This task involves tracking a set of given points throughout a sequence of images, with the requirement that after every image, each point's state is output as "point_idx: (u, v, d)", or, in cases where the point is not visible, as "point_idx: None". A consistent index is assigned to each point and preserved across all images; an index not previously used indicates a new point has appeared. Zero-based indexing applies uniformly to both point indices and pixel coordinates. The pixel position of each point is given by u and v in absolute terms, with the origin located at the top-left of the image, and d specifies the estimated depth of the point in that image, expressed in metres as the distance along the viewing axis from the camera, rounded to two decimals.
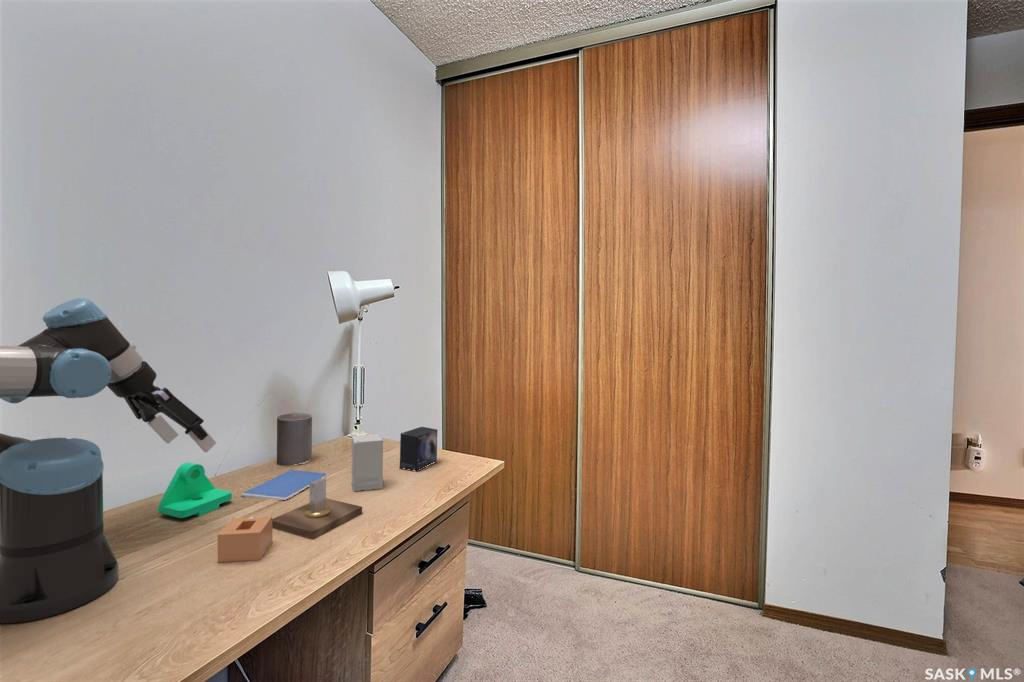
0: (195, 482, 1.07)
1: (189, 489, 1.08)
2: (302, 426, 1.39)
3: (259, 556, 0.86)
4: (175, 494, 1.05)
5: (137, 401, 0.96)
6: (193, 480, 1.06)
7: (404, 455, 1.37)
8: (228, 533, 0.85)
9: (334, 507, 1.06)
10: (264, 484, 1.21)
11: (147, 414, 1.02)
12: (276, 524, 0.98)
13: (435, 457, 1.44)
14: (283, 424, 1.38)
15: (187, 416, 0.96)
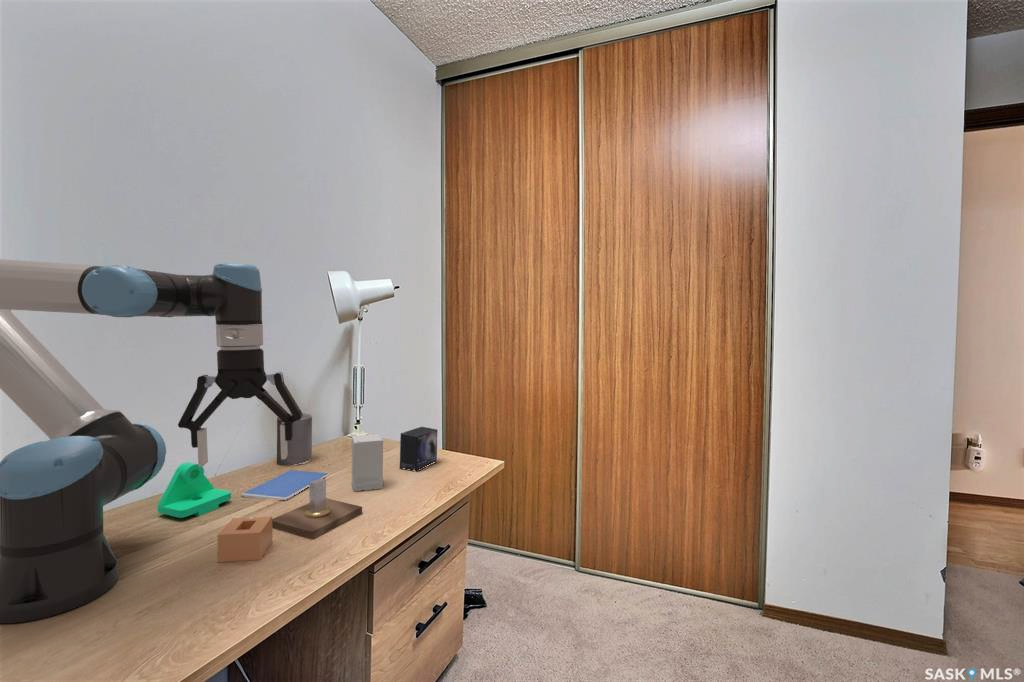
0: (194, 482, 1.07)
1: (189, 489, 1.08)
2: (302, 426, 1.39)
3: (259, 556, 0.86)
4: (174, 494, 1.05)
5: None
6: (192, 480, 1.07)
7: (404, 455, 1.37)
8: (228, 533, 0.85)
9: (334, 507, 1.06)
10: (264, 484, 1.21)
11: None
12: (276, 524, 0.98)
13: (435, 457, 1.44)
14: None
15: None
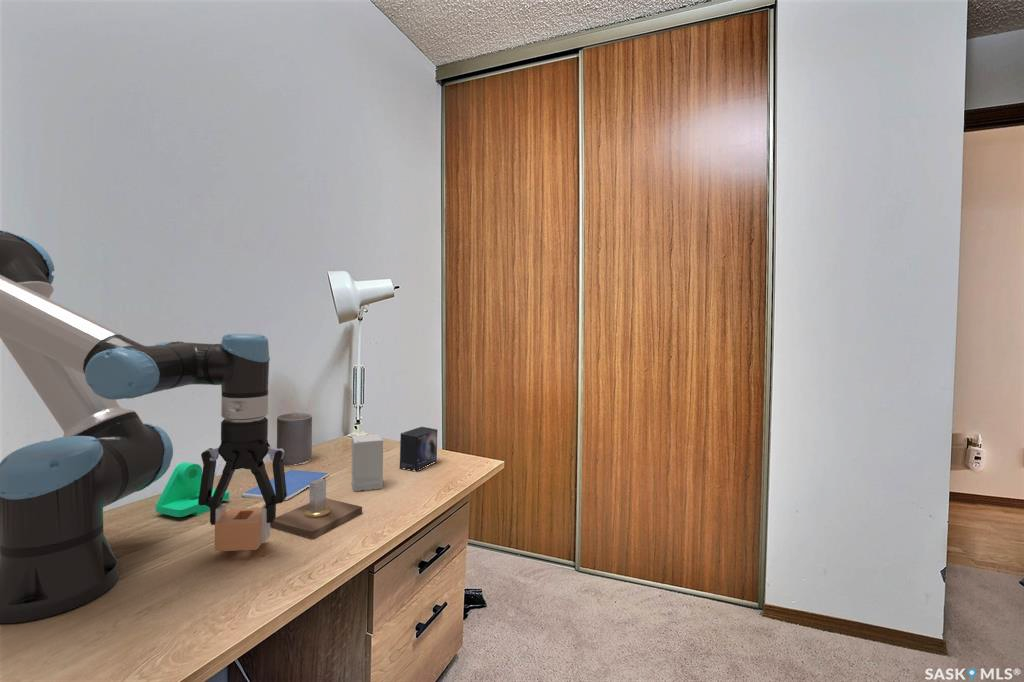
0: (192, 481, 1.07)
1: (187, 489, 1.08)
2: (302, 426, 1.39)
3: (256, 546, 0.86)
4: (173, 494, 1.05)
5: None
6: (190, 479, 1.07)
7: (404, 455, 1.37)
8: (225, 522, 0.85)
9: (334, 507, 1.06)
10: None
11: None
12: (276, 524, 0.98)
13: (435, 457, 1.44)
14: (283, 424, 1.38)
15: None
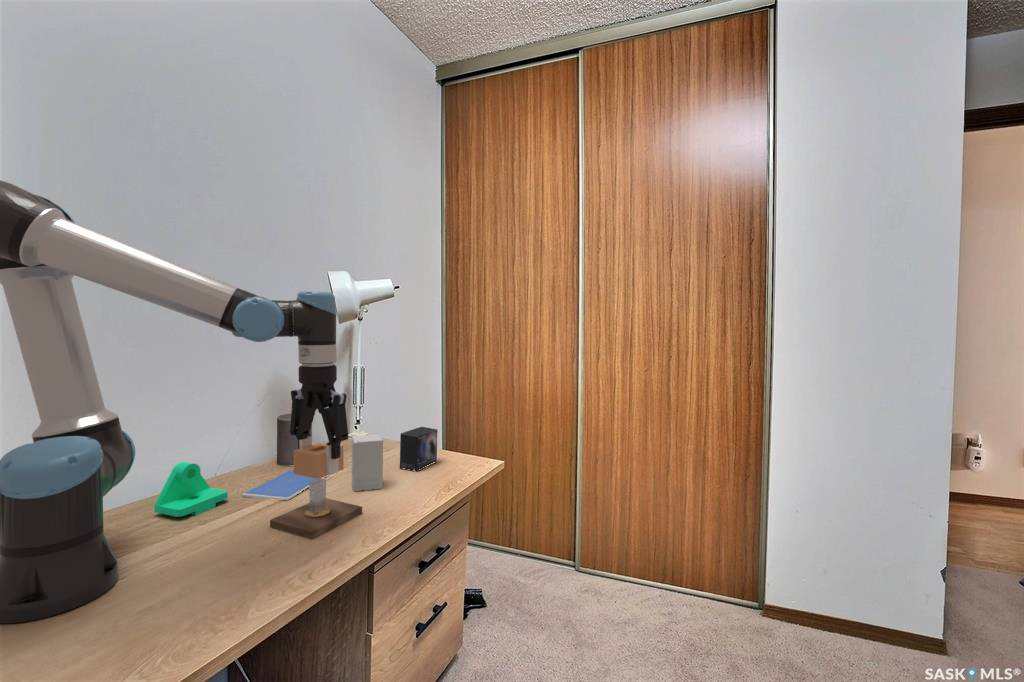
0: (191, 481, 1.07)
1: (185, 489, 1.08)
2: None
3: (318, 476, 0.98)
4: (171, 494, 1.05)
5: None
6: (189, 479, 1.07)
7: (404, 455, 1.37)
8: (300, 451, 1.00)
9: (334, 507, 1.06)
10: (265, 484, 1.21)
11: None
12: (276, 524, 0.98)
13: (435, 457, 1.44)
14: (283, 424, 1.38)
15: None
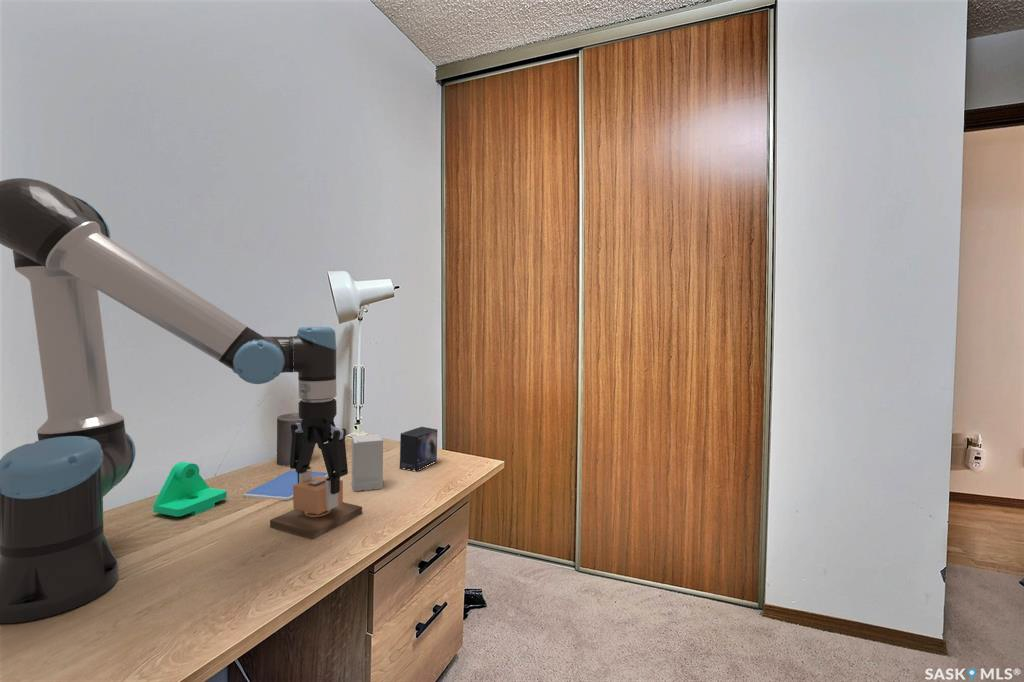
0: (190, 481, 1.08)
1: (184, 488, 1.08)
2: None
3: (317, 511, 0.98)
4: (170, 493, 1.05)
5: None
6: (188, 479, 1.07)
7: (404, 455, 1.37)
8: (300, 486, 1.00)
9: None
10: (265, 484, 1.21)
11: None
12: (276, 524, 0.98)
13: (435, 457, 1.44)
14: (283, 424, 1.38)
15: None
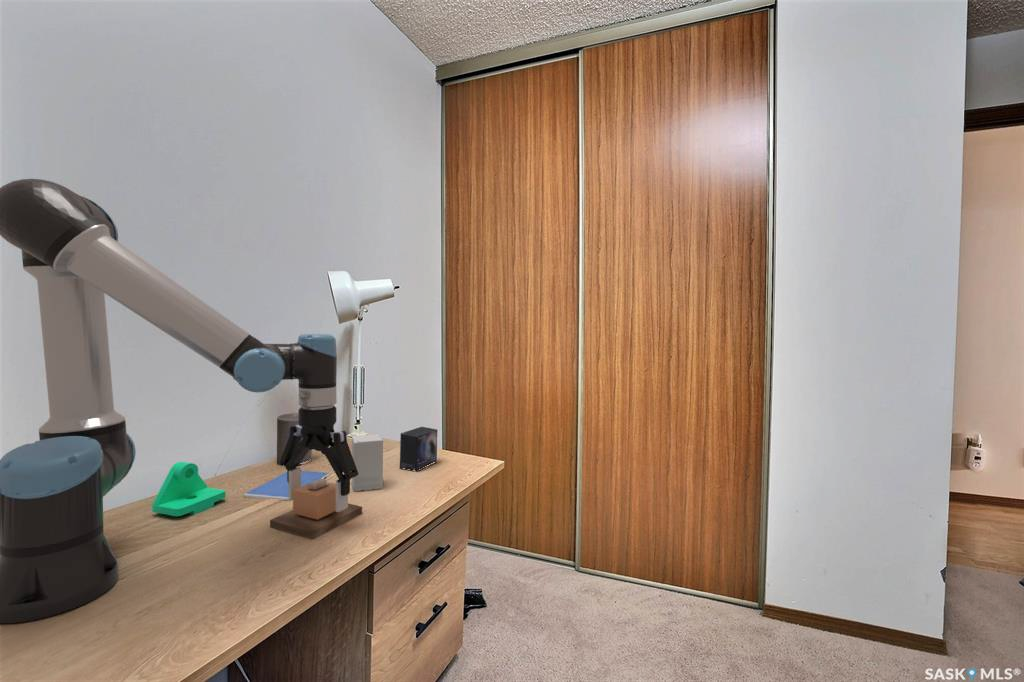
0: (189, 481, 1.08)
1: (183, 488, 1.08)
2: None
3: (317, 516, 0.98)
4: (169, 493, 1.05)
5: None
6: (187, 479, 1.07)
7: (404, 455, 1.37)
8: (300, 490, 1.00)
9: None
10: (265, 484, 1.21)
11: None
12: (276, 524, 0.98)
13: (435, 457, 1.44)
14: (283, 424, 1.38)
15: None
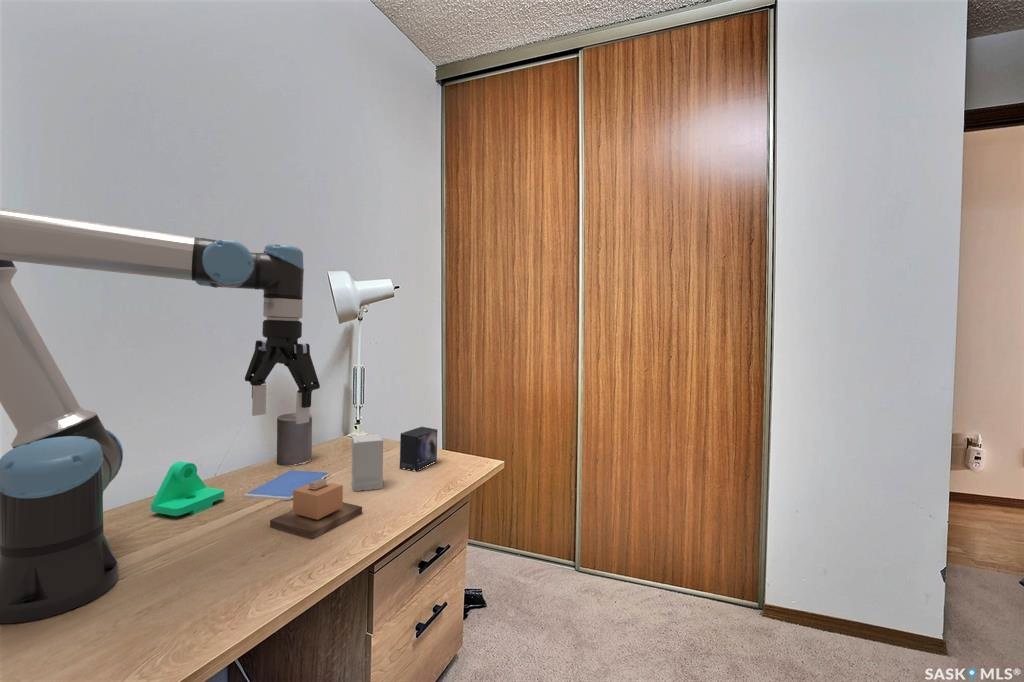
0: (188, 481, 1.08)
1: (182, 488, 1.08)
2: (302, 426, 1.39)
3: (317, 516, 0.98)
4: (168, 493, 1.05)
5: None
6: (185, 479, 1.07)
7: (404, 455, 1.37)
8: (300, 490, 1.00)
9: None
10: (266, 484, 1.21)
11: None
12: (276, 524, 0.98)
13: (435, 457, 1.44)
14: (283, 424, 1.38)
15: None
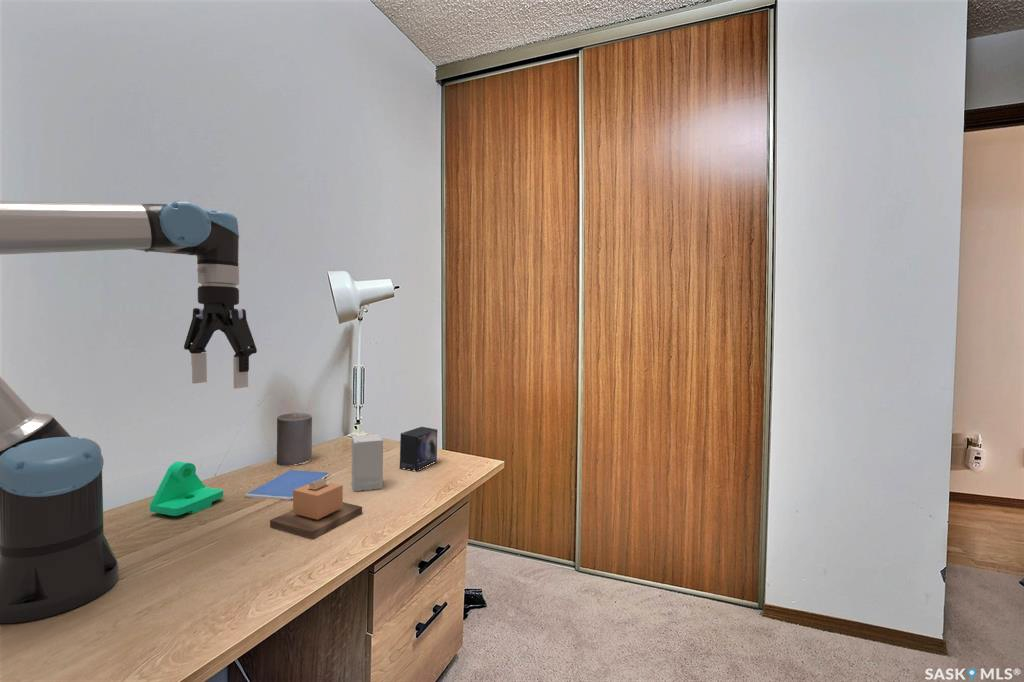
0: (187, 480, 1.08)
1: (181, 488, 1.08)
2: (302, 426, 1.39)
3: (317, 516, 0.98)
4: (167, 493, 1.05)
5: None
6: (184, 479, 1.07)
7: (404, 455, 1.37)
8: (300, 490, 1.00)
9: None
10: (266, 484, 1.21)
11: None
12: (276, 524, 0.98)
13: (435, 457, 1.44)
14: (283, 424, 1.38)
15: None
